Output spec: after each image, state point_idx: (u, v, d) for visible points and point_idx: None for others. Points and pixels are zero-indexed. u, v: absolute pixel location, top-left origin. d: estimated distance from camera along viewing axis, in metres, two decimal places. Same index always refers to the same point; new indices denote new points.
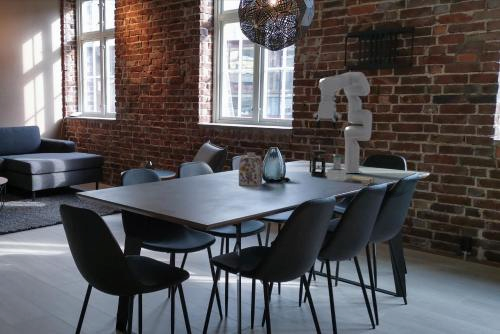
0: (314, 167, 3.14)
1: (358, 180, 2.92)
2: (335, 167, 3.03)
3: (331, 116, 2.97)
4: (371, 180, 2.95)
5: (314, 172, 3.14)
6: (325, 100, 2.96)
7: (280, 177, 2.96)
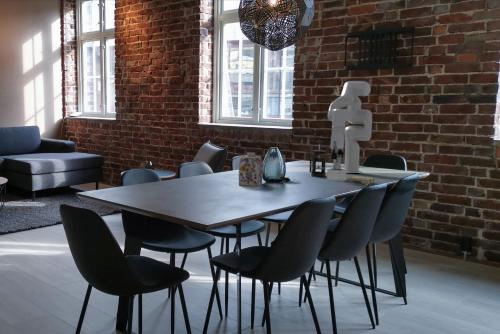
0: (314, 167, 3.14)
1: (358, 180, 2.92)
2: (335, 167, 3.03)
3: (343, 146, 3.05)
4: (371, 180, 2.95)
5: (314, 172, 3.14)
6: (344, 131, 3.00)
7: (280, 177, 2.96)
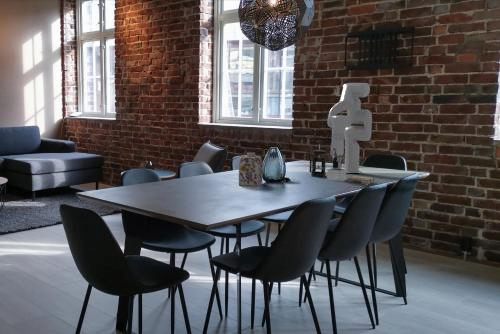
0: (314, 167, 3.14)
1: (358, 180, 2.92)
2: None
3: None
4: (371, 180, 2.95)
5: (314, 172, 3.14)
6: None
7: (280, 177, 2.96)
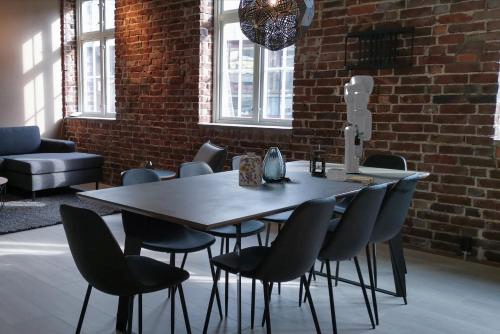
0: (314, 167, 3.14)
1: (358, 180, 2.92)
2: (357, 145, 2.95)
3: (365, 130, 2.97)
4: (371, 180, 2.95)
5: (314, 172, 3.14)
6: (366, 114, 2.93)
7: (280, 177, 2.96)
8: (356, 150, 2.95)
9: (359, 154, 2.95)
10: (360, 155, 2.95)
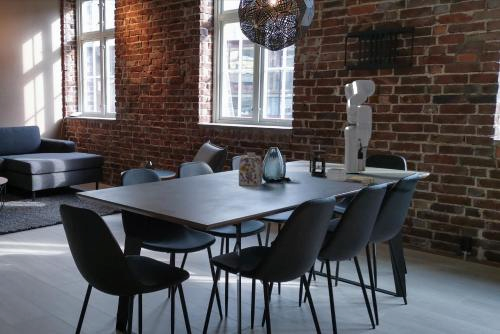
0: (314, 167, 3.14)
1: (358, 180, 2.92)
2: None
3: (367, 144, 2.97)
4: (371, 180, 2.95)
5: (314, 172, 3.14)
6: (369, 128, 2.92)
7: (281, 177, 2.96)
8: (359, 164, 2.95)
9: (362, 168, 2.95)
10: (363, 169, 2.95)
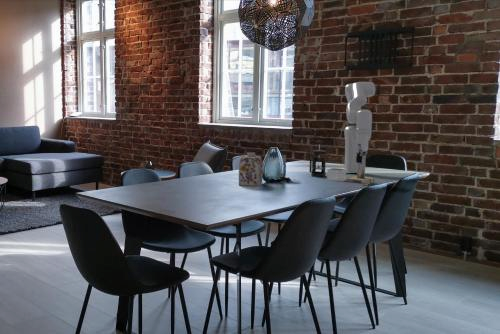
0: (314, 167, 3.14)
1: (358, 180, 2.92)
2: (359, 166, 2.95)
3: (367, 148, 2.98)
4: (371, 180, 2.95)
5: (314, 172, 3.14)
6: (369, 133, 2.93)
7: (281, 177, 2.96)
8: (359, 171, 2.96)
9: (362, 175, 2.95)
10: (363, 176, 2.96)
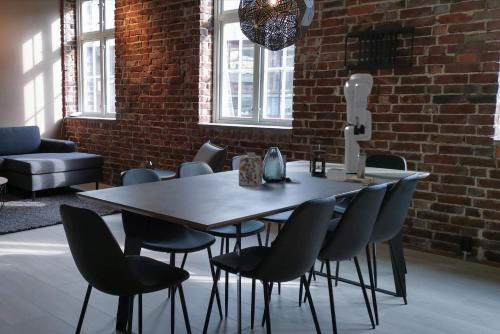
0: (314, 167, 3.14)
1: (358, 180, 2.92)
2: (359, 165, 2.95)
3: (365, 122, 3.01)
4: (371, 180, 2.95)
5: (314, 172, 3.14)
6: (366, 106, 2.96)
7: (281, 177, 2.95)
8: (359, 171, 2.96)
9: (362, 175, 2.95)
10: (363, 176, 2.96)
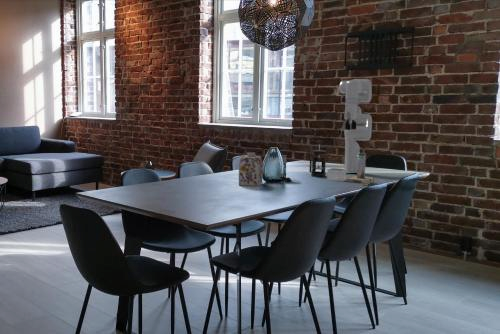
0: (314, 167, 3.14)
1: (358, 180, 2.92)
2: (359, 165, 2.95)
3: (356, 117, 3.15)
4: (371, 180, 2.95)
5: (314, 172, 3.14)
6: (357, 102, 3.10)
7: (281, 177, 2.95)
8: (359, 171, 2.96)
9: (362, 175, 2.95)
10: (363, 176, 2.96)
